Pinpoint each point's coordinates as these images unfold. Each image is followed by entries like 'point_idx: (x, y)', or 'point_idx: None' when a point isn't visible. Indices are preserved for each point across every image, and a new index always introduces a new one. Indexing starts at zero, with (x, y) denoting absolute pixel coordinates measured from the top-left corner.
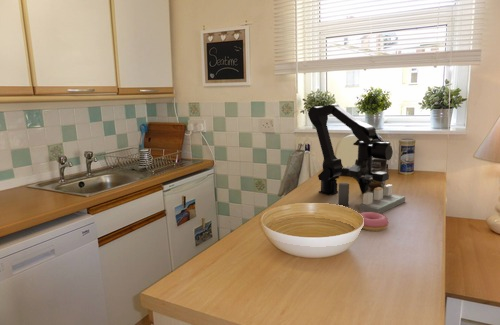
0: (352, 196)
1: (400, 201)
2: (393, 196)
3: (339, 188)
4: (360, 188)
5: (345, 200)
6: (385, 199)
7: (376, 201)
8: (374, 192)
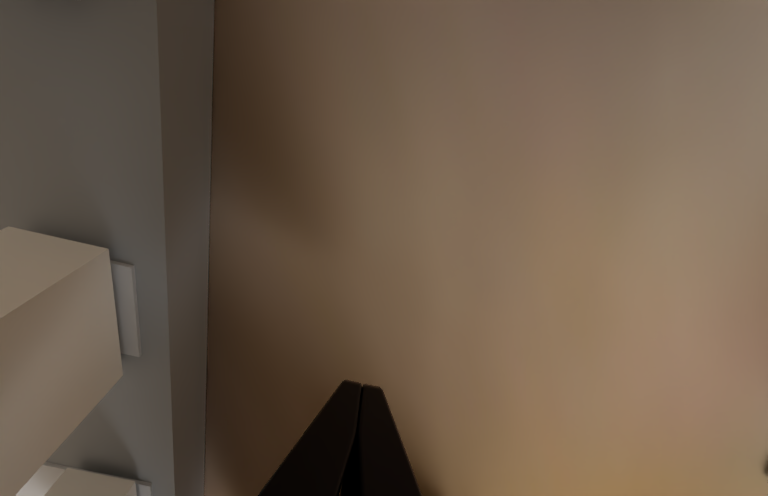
0: (552, 413)
1: None
2: (32, 484)
3: None
4: (407, 485)
5: None
6: None
7: (25, 182)
8: None
